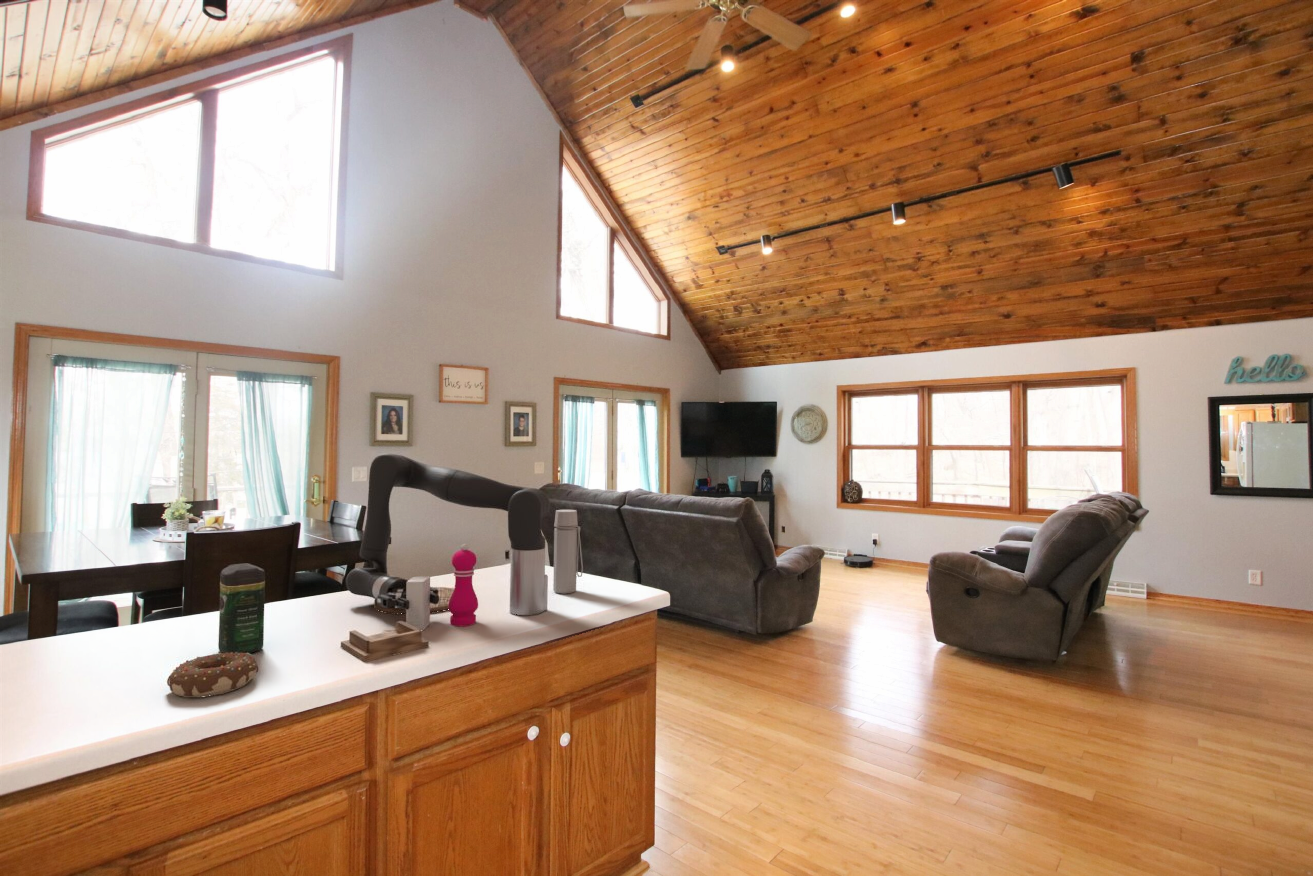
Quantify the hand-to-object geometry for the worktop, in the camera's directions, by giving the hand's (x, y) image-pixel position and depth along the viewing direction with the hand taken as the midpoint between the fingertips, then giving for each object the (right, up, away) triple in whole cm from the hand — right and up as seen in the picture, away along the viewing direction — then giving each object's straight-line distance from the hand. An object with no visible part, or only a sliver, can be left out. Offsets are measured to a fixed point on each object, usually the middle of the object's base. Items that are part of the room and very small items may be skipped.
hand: (422, 602), depth 154 cm
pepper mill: (+8, -7, +6) cm, 12 cm away
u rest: (-3, -6, -13) cm, 15 cm away
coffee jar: (-33, -6, -17) cm, 38 cm away
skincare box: (-2, -7, +1) cm, 7 cm away
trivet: (-9, -7, +25) cm, 28 cm away
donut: (-25, -6, -37) cm, 45 cm away
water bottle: (+30, -7, +41) cm, 51 cm away
